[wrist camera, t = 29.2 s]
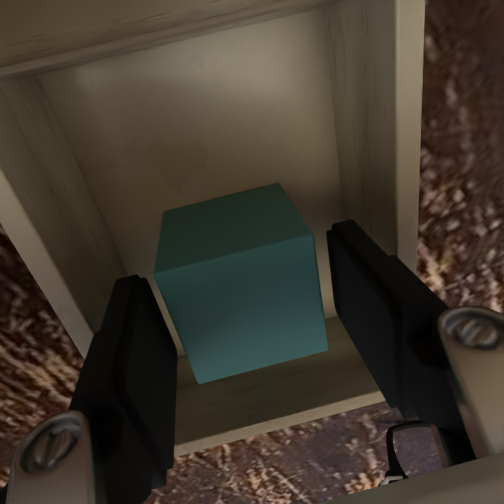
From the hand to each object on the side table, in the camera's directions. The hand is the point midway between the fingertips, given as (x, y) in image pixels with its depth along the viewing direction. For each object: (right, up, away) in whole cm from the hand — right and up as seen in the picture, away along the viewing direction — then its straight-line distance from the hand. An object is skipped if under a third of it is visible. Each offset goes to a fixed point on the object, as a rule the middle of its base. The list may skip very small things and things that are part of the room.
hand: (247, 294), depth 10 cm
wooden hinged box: (-1, +3, +3) cm, 4 cm away
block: (-1, +1, +3) cm, 3 cm away
